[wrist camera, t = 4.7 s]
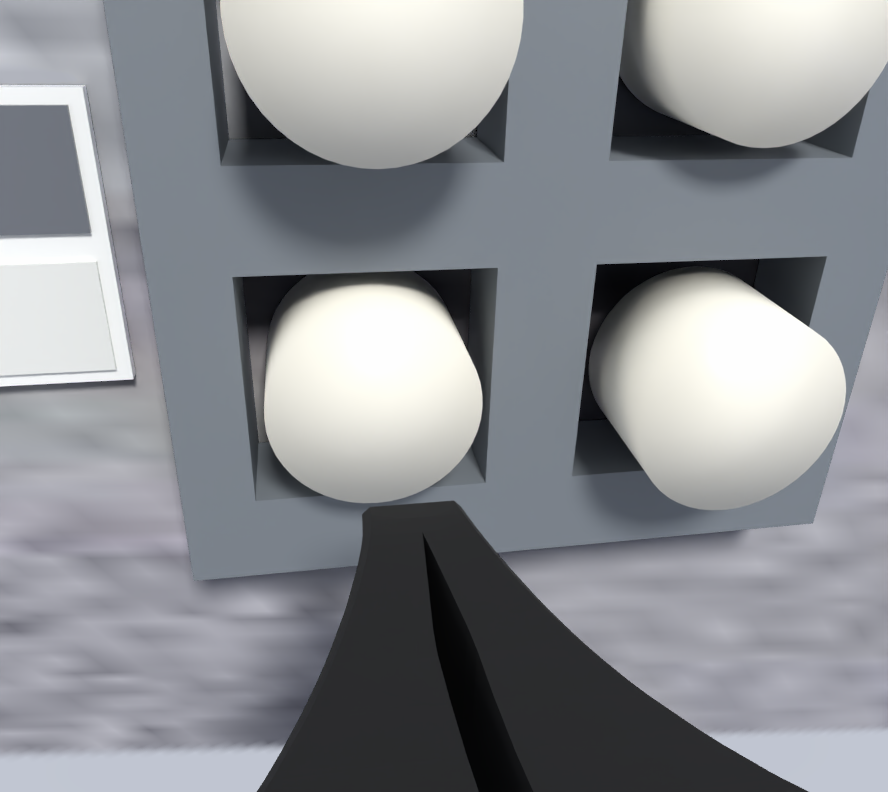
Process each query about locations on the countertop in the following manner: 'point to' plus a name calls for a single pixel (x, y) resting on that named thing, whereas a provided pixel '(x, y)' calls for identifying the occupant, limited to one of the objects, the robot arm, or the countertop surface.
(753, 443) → the button
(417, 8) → the button
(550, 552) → the countertop surface
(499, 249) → the board
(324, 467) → the button
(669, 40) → the button
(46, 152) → the tile
